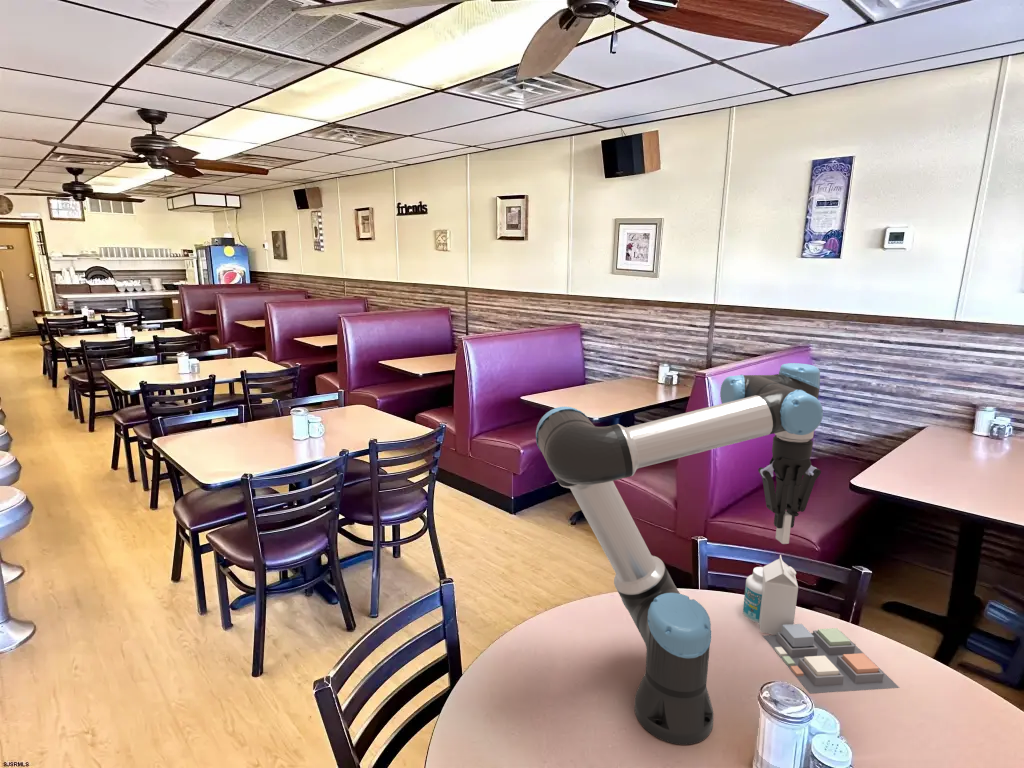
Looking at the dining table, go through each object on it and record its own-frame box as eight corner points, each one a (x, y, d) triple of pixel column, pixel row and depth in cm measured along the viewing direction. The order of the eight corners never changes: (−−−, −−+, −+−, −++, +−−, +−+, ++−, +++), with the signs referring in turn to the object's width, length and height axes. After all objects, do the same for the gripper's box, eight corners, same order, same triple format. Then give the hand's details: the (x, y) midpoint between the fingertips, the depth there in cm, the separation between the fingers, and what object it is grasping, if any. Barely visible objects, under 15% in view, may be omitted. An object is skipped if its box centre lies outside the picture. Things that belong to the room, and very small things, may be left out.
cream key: (816, 681, 120) (817, 671, 120) (803, 666, 125) (804, 656, 125) (837, 680, 121) (839, 670, 120) (823, 665, 125) (824, 655, 125)
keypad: (809, 697, 118) (810, 685, 117) (762, 639, 136) (763, 628, 136) (899, 691, 120) (900, 679, 119) (840, 634, 138) (841, 623, 138)
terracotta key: (856, 679, 121) (857, 669, 121) (841, 663, 126) (842, 654, 125) (877, 677, 122) (878, 668, 121) (861, 662, 126) (863, 653, 126)
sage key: (829, 651, 130) (830, 642, 129) (816, 638, 135) (818, 629, 134) (849, 650, 130) (850, 641, 130) (835, 637, 135) (837, 628, 135)
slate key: (793, 647, 129) (794, 637, 128) (781, 633, 134) (782, 624, 133) (813, 646, 129) (814, 636, 129) (800, 632, 134) (801, 623, 133)
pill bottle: (736, 611, 148) (741, 564, 145) (763, 609, 149) (768, 562, 146) (751, 629, 141) (757, 580, 137) (779, 627, 141) (785, 578, 138)
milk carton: (759, 636, 138) (767, 566, 134) (757, 619, 144) (764, 552, 140) (791, 643, 136) (800, 572, 131) (787, 625, 142) (796, 557, 138)
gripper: (773, 443, 115) (762, 550, 119) (833, 441, 116) (821, 548, 120) (754, 432, 122) (745, 534, 127) (811, 431, 123) (800, 531, 128)
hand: (782, 540), depth 123 cm, fingers closed
